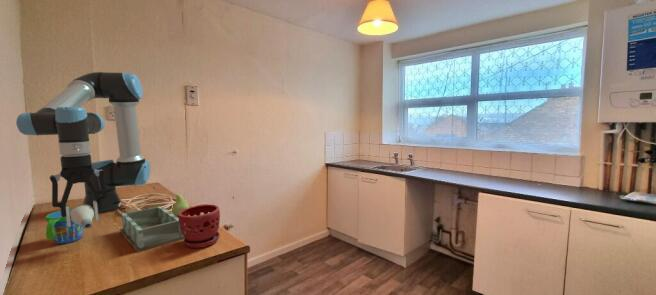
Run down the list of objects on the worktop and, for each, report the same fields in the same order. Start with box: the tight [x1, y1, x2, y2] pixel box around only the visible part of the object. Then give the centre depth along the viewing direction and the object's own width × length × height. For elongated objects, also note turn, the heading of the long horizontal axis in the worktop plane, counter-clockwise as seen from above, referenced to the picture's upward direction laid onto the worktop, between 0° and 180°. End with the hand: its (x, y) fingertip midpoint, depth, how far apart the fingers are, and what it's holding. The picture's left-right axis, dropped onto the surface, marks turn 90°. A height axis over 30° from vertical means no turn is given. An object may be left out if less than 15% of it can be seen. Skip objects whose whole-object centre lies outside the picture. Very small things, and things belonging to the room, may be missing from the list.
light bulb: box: [70, 203, 95, 230], centre depth 96 cm, size 7×7×11 cm
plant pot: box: [177, 204, 221, 249], centre depth 101 cm, size 13×13×12 cm
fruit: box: [169, 190, 190, 217], centre depth 128 cm, size 7×8×12 cm
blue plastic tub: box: [45, 208, 84, 245], centre depth 104 cm, size 16×10×10 cm
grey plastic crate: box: [119, 205, 185, 253], centre depth 108 cm, size 25×15×7 cm, turn 46°
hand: (83, 222), depth 97 cm, fingers closed on light bulb, 6 cm apart
